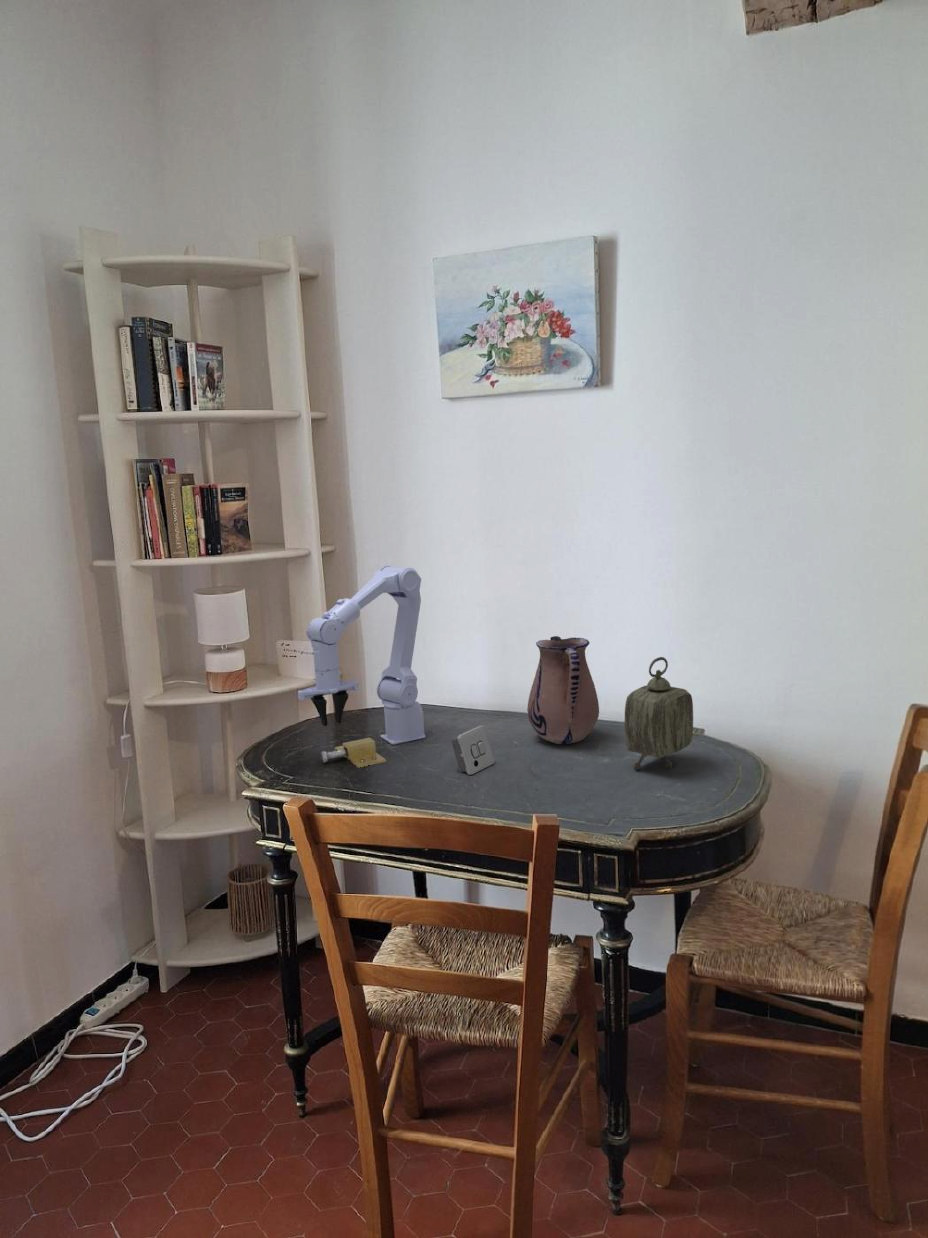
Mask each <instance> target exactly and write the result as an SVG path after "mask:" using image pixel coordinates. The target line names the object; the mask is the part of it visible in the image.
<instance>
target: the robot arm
mask: <svg viewBox="0 0 928 1238" xmlns="http://www.w3.org/2000/svg"><path fill="white" fill-rule="evenodd" d="M421 583H422V578H421V576H420V575H419V574H418V571H417V570H416V569H414V568H412V567H399V566H391V565H384V566H382V567H381V568H380V569H379V570H377V571H375V572H374V574H373V577H372V578H371V579H370V580H369V581H368V582H367V583H366V584H365V585H364V586H363V587H362V588H361V589H360V590H358V591H357V593H355V594H354V595H353V596H351V598H347V597H345V598H342V599H341V598H340V599H337V601H336V604H335V605H334V606H332V607H331V608H330V609H329V610H328V611H324V612H323V614H322V616H321V617H316V618H313V619H312V620H311V621H309V624H308V625H307V630H305V634H306V638H307V639H308V640H309V641H310V644H311V648H312V654H313V665H314V676H315V686H312V687H311V686H310V687H307V688H304V689H301V690H298V691H297V698H298V699H299V700H300V701H305V700H306V699H310V700H311V702H312V703H313V705H314V707H315V709H316V711H317V712H318V716H319V718H320V722H321V725H322V726H324V727H328V715H327V699H325V696H327V695H332V696H331V697H332V701H333V707H334V720H335V722H336V724H341V723H342V718H343V712H344V709H345V706H346V703H347V701H348V699H349V693H347V692H349V691H359V690H360V686H359V681H357V680H352V681H351V680H350V681H341V676H340V664H339V651H338V642H339V641H340V639H341V637H342V633H343V632H344V630H346V628H347V627H349V626H350V625H352V623H354V621H356V620H357V619H358V618H359V617H360V614H361V610H362V609H363V608H364V607H366V606H367V605H369V604H370V603H371V602H373V601H374V600H376V599H377V598H378V597H379V596H381V595H382V594H386V593H387V594H388V595H389V596H390V597H392V598H393V600H394V601H395V602H396V604H397V612H396V619H395V626H394V633H393V639H392V645H391V646H392V647H391V653H390V658H389V665H388V667H386V668H385V669H384V670H383V671H382V672H381V677H380V680H379V681H378V684H377V686H376V695H377V697H378V699H379V700H380V701H381V702H382V705H383V711H384V727H385V734H380V738H381V739H383V740H385V741H386V742H387V743H389V744H391V745H397V744H403V743H407V742H412V741H416V740H421V739H425V738H426V734H425V724H424V723H425V722H424V712H423V708H422V705H421V704H420V702H418V701H416V700H417V698H418V695H419V694H418V691H419V690H418V686H417V682H418V677H417V675H416V674H415V673H414V672H413V670H412V662H413V656H414V649H415V643H416V636H417V629H418V623H419V615H420V610H421V609H420V608H421V601H422V599H421V598H422V597H421V591H420V589H421Z"/></svg>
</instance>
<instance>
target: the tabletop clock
mask: <svg viewBox="0 0 928 1238" xmlns="http://www.w3.org/2000/svg"><path fill="white" fill-rule="evenodd" d="M659 661H663V662H664V663H665V667H664V669H663V670H660V669H656V670H655V674H653V673H652V668H653V666H654V664H655V663H656V662H659ZM668 666H669V663H668V659H666V658H665V657H664V656H659V657H656V658H654V659H653V660H652V661H651V662H650V664H649V667H648V673H649V675H650V676H651V677H652V678H651V679H649V681H648V682H647V684H646V685H643V686H641V687H639V688H637V689H634V690H633V691H631V692H630V693H629V694H628V695H627V697H626V700H625V706H624V722H623V723H624V739H625V745H626V748H627V749H626V750H627V751H628V752H629V751H630V752H633V753H637V754H641V756H640V757H639V760H638V762H634V764H633V766H632V767H633V769H634V770H635V771H639V770H640V769H641V763H642V762H643V760H644V759H645V758H646V757H648V756H650V757H654V758H657V759H662V758H665V762H664V766H665V768H666V769H671V768H672V767H673V763H672V762H671V760H669V756H671V755H674V754H676V753H679V752H680V751H682V750H684V749H685V748H687V747H688V746H689V745H690V744H691V743H692V741H693V735H694V702H693V696H692V695H691V693H690V692H689V691H688V690H687V689H685V688H680V687H674V686H671V683H670V682H669V681H668V679H666V678H665V677H663V675H664V674H666V672H667V670H668Z"/></svg>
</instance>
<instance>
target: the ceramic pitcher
mask: <svg viewBox="0 0 928 1238" xmlns="http://www.w3.org/2000/svg"><path fill="white" fill-rule="evenodd" d="M535 643H536V647H537V648H538V650H539V662H538V666H537V669H536V672H535V673H534V674H535V676H534V678H533V681H532V685H531V688H530V692H529V694H528V695H529V697H528V701H527V717H528V721H529V723H530V725H531V727H532V729H533V730H534V731H535V733H536V734H537V735H538V736H540V738H541V739H543V740H545V741H547V742H550V743H553V744H556V745H569V744H570V745H571V744H576V743H579V742H581V741H583V740H584V739H585V738H586V737H587V736H588V735H590V733H591V731H592V729H594V727H595V725H596V723H597V722H598V720H599V716H600V705H599V699H598V694H597V691H596V685H595V683H594V680H593V677H592V675H591V672H590V668H589V665H588V662H587V658H586V649H587V647H589V645H590V643H591V642H590V641H589V640H588V639H587V638H584V637H569V638H561V637H560V636H559V635H555V636H550V639H540V640H538V641H537V642H535Z"/></svg>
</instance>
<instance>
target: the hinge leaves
mask: <svg viewBox="0 0 928 1238" xmlns="http://www.w3.org/2000/svg"><path fill="white" fill-rule="evenodd" d="M376 748H377V747H376V741H375V740H374V739H373V738H371V737H366V738H365V737H364V738H361V739H356V740H351V741H347V742H342V745H340V746H339V745H338V746H335V747H334V750H335V749H336V750H337V751H338V750H343V749H347V751H348V755H346V756H343V757H344V758H345V757H346V758H347V760H348V761H349V760H350V761H351V762H350V761H349V762H350V763H351V764H353V765H354V766H355V765H356V767H357V768H358V769H360V767H361V768H364V766H365V767H369V766H368V765H370V766H374V765H379V764H382V763H387V760H386V758H384V757H383V756H382V755H380V754H379V753H377V749H376ZM336 750H335V751H336ZM346 758H345V759H346Z"/></svg>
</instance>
